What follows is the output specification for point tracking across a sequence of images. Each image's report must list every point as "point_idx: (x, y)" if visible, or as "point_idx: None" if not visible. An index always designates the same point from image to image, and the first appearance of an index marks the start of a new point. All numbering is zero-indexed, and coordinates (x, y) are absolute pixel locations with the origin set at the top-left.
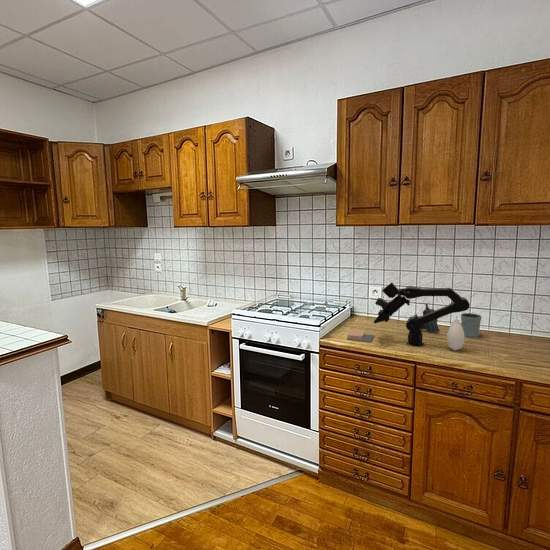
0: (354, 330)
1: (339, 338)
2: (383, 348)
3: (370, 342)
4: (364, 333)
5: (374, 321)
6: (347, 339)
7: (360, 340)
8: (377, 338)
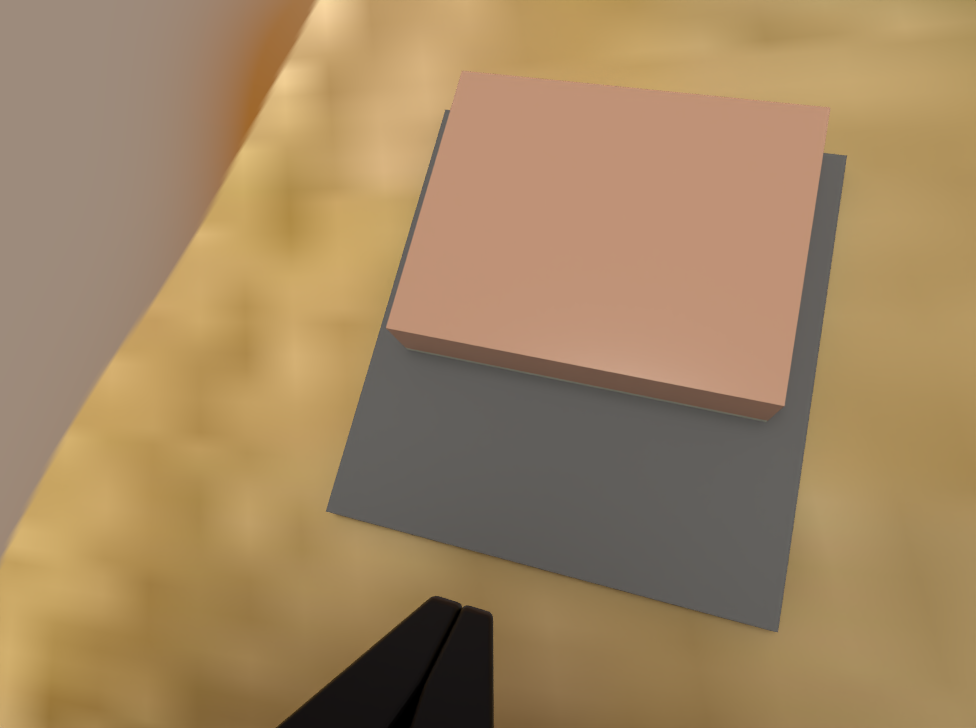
0: (805, 175)
1: (513, 10)
2: (44, 700)
3: (338, 500)
4: (687, 393)
5: (400, 633)
6: (445, 120)
7: (383, 321)
8: (618, 683)
